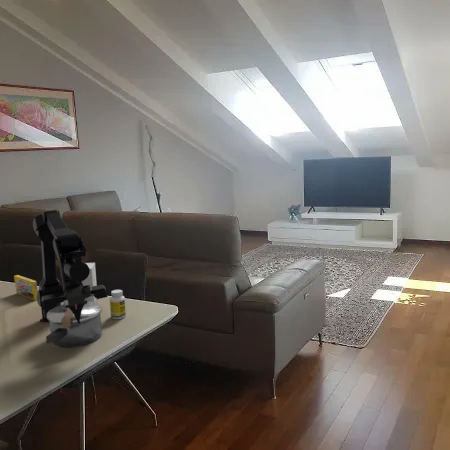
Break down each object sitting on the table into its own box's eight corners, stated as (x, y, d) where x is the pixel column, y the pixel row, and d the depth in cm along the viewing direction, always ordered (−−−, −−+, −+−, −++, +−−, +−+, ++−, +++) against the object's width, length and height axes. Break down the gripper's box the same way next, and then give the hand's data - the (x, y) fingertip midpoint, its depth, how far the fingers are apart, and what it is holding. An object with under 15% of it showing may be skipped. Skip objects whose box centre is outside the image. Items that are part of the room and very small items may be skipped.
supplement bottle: (122, 319, 169) (120, 293, 167) (108, 319, 170) (106, 293, 168) (128, 314, 174) (126, 289, 172) (114, 313, 175) (112, 288, 174)
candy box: (15, 294, 203) (13, 275, 202) (20, 292, 205) (18, 274, 204) (34, 301, 193) (32, 281, 192) (39, 299, 195) (37, 280, 193)
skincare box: (82, 299, 193) (79, 263, 190) (99, 298, 193) (95, 262, 190) (78, 306, 184) (74, 268, 182) (95, 305, 185) (91, 267, 182)
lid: (55, 304, 163) (54, 295, 163) (105, 300, 166) (104, 292, 165) (36, 332, 139) (35, 322, 139) (96, 327, 142) (95, 317, 141)
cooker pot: (29, 355, 143) (26, 330, 142) (72, 323, 168) (70, 301, 166) (76, 358, 140) (74, 333, 138) (114, 325, 164) (112, 303, 163)
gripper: (39, 287, 130) (47, 340, 133) (106, 275, 137) (113, 324, 140) (38, 278, 141) (46, 326, 143) (101, 266, 147) (107, 313, 150)
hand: (78, 323), depth 144 cm, fingers closed
